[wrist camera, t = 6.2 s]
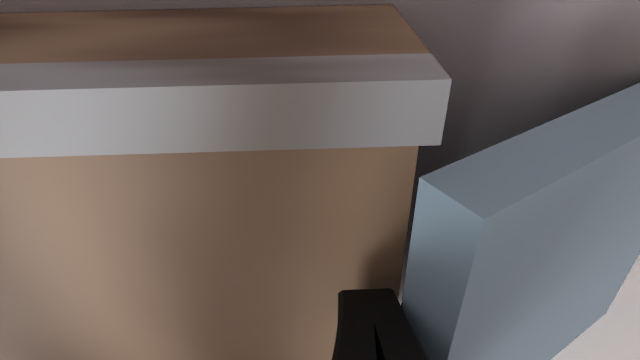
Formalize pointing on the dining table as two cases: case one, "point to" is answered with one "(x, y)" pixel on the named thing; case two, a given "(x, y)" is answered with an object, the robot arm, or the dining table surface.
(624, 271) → the lid plate
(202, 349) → the slide box
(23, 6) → the dining table surface
